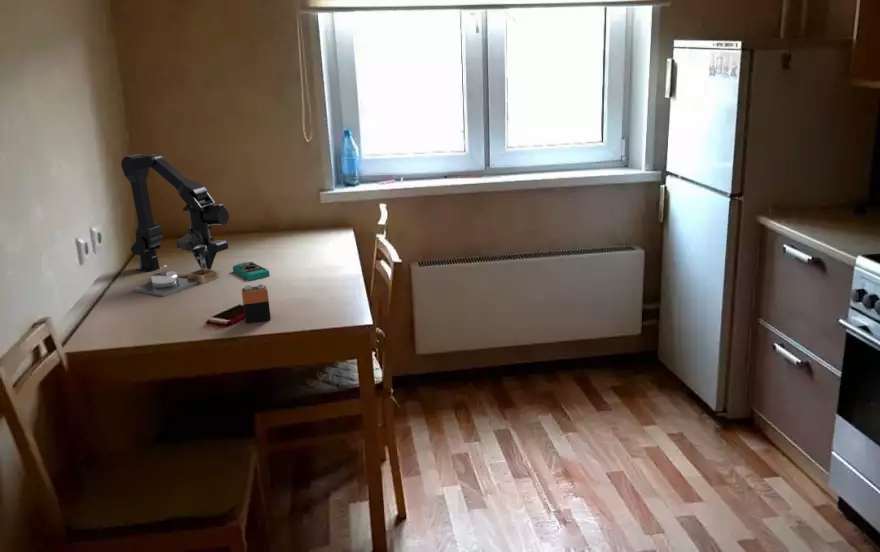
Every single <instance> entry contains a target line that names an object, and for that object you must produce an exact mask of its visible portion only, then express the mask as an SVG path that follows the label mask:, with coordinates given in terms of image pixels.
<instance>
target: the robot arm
mask: <svg viewBox="0 0 880 552" xmlns="http://www.w3.org/2000/svg"><path fill="white" fill-rule="evenodd" d="M120 167H121V168H122V171H123V175H124V177H126V179H127V181H129V182H130V186H131V192H132V197H133V203H134V206H135V207H134V208H135V212H136V218H137V224H138V225H137V228H136V231H135V242H134V244H133V245H132V246H131V248H130V251H131V253H132V255H137V259H138V266H139V267H136V269H135V270H136V271H140V272H141V271H142V272H152V271H154V270H157V269H160V266H161V265H162V264H160V263H159V257H158V254H157V250H160V249H161V244H162V242H163V238H164V235H163V231H162V226H161V225H157V224H156V222H155V221H154V216H153V212H152V211H153V210H152V206H151V200H150V195H149V191H148V190H149V189H148V185H147V179H148V176H149V172H150V168H151V169H152V170H153V171H154V172H156V173H157V174H158V175H160V176H161V178H163V179H164V180H165V181H166V182H167V183H169V184H170V185H171V186H172V187H174V188H175V189H176V190H177V193H178V196H179V198H181V199H182V201H183V202H184V203H185V204H186V205H185V206H184V207H183V208H182V211H183V212H188V215H189V217H188V218H189V223H190V227H188V228H187V234H184V236H182V237H181V238H179V239H178V240H177V241H176V244H177V245H176V246H177V248H178V249H180V250H181V251H187V252H189V253H191V254H192V255H193V257H194V258H195V260H196V262H197V263H198V265H199V267H200V269H201V264H200V260H197V256H199V253H202V254H204V255H205V260H206V265H207V268H208V269H211V270H212V267H213V264H214V261H215V257H216V256H217V253H219V252H222V251H225V250H228V249H229V243H228V242H227V240H225V239H224V240H223V239H217V240H214V237H212V236H211V232H210V229H212V228H213V227H212V226H225V225H226V224H227V223H228V222H229V220H230V213H229V211H228V210H227V208H225V207H224V204H223V203H219V204H216V202H215V200H214V198H212V197H211V195H210V194H209V192H208V190H207V188H206V187H205V186H203V185H202V184H200V183H199V182H197V181H194V180H191V179H189V178H187V177H186V176H184V174H182V173H181V171H179V170H178V169H176V168H175V167H174V166H173V165H171V163H169V162H168V161H167V160H166V159H164V157H163V156H162V154H160V153H159V154H158V153H155V154H154V153H153V154H150V155H144V154H143V153H138V154H133V155H128V156H124V157H123V159H121V165H120Z"/></svg>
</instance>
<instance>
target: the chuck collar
mask: <svg viewBox="0 0 880 552" xmlns="http://www.w3.org/2000/svg"><path fill="white" fill-rule="evenodd" d="M160 265H161V266H160V268H159V269H160V272H157V273H154V274H153V275H151V282H152V284H153V287H156V288H165V287H171V286H174V285H177V284H178V283H179V279H178V278H179V274H178V272H177V271H172V270H170V271H169V270H168V266H167V264H160Z"/></svg>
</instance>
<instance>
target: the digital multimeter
mask: <svg viewBox="0 0 880 552" xmlns="http://www.w3.org/2000/svg"><path fill="white" fill-rule="evenodd" d="M232 271H233V273H235V274H237V275H239V276H241V277H242V278H245V279H246V280H248V281H254V280H259V278H260V279H265V278H267V277H270V274H271V273H270V270H268V269H267V268H266V267H263V266H261V265H259V264H257V263H255V262H253V261H247V262H241V263H237V264H234V265H233V266H232Z"/></svg>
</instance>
